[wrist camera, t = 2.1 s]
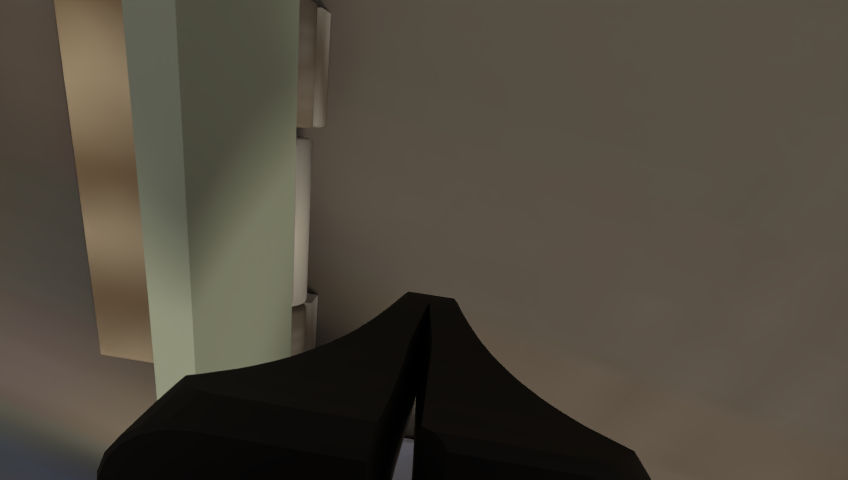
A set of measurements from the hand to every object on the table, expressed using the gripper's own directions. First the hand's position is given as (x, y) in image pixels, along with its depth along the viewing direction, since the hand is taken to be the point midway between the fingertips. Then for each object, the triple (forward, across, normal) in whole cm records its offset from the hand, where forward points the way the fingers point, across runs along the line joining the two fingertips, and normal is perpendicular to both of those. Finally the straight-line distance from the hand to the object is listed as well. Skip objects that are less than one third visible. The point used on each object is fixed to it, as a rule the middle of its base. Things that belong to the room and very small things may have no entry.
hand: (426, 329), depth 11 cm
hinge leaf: (+3, +7, 0) cm, 8 cm away
